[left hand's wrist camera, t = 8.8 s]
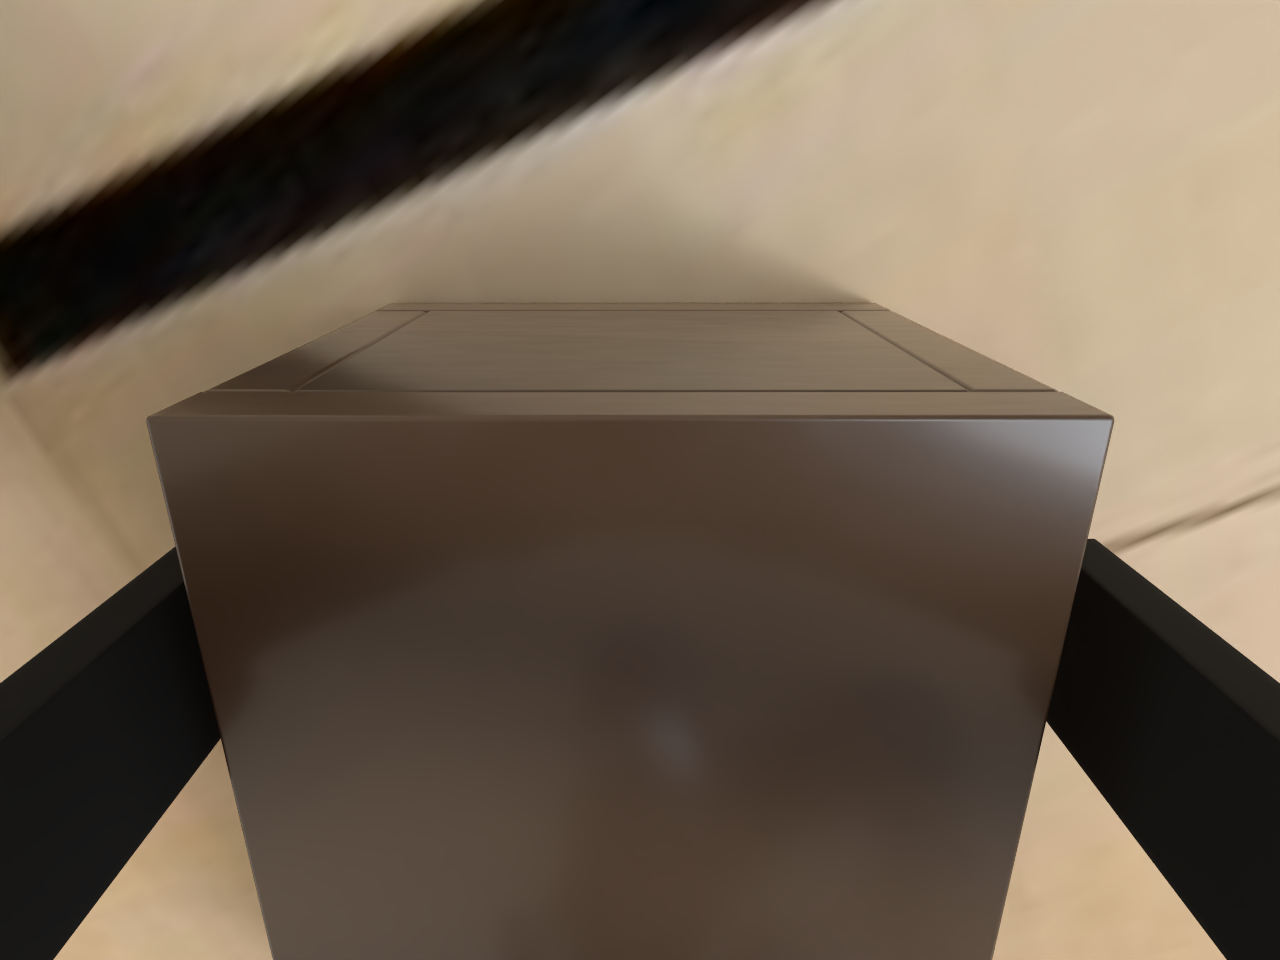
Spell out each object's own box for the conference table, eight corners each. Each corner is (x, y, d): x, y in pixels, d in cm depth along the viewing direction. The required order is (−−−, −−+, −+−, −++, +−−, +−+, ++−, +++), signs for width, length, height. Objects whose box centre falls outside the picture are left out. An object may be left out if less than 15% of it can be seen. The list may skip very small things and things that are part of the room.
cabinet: (805, 971, 23) (896, 1389, 15) (465, 973, 23) (373, 1393, 15) (878, 302, 16) (1118, 415, 8) (389, 302, 16) (142, 416, 8)
